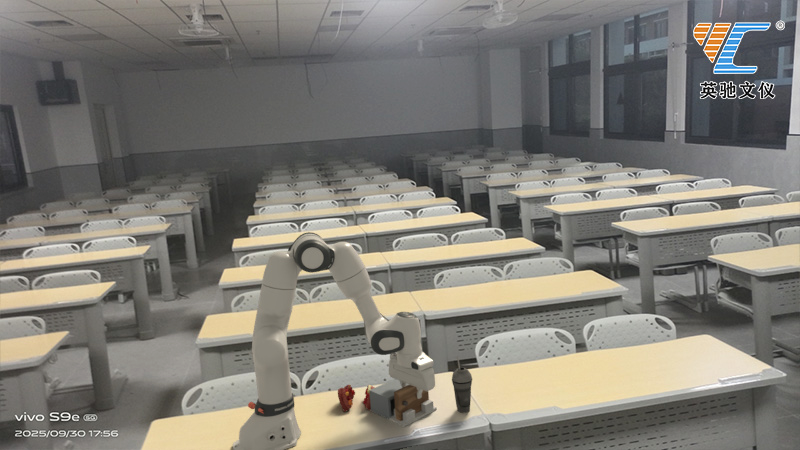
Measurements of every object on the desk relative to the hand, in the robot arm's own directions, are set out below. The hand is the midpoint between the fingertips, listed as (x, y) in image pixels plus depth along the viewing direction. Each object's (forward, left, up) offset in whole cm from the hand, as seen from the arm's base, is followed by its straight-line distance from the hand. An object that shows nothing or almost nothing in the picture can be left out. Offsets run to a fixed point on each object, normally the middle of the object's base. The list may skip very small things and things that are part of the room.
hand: (412, 395), depth 208 cm
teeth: (-7, +21, -8) cm, 24 cm away
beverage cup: (+14, -11, -8) cm, 19 cm away
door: (0, 0, -7) cm, 7 cm away
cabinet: (0, +5, -7) cm, 9 cm away
